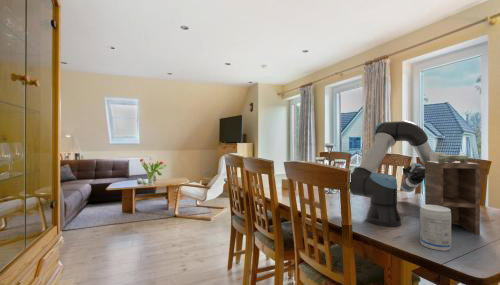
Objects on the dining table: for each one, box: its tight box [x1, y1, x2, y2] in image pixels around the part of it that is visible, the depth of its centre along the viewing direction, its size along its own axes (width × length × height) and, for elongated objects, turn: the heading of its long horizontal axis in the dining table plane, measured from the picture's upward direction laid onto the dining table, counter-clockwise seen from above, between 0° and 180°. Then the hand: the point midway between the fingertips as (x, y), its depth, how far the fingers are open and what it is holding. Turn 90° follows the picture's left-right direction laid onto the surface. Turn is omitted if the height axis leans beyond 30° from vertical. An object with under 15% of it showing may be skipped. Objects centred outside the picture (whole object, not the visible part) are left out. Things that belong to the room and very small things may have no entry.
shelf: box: [424, 154, 481, 235], centre depth 114 cm, size 15×14×33 cm
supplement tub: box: [419, 204, 452, 252], centre depth 94 cm, size 10×10×15 cm
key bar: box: [430, 152, 456, 162], centre depth 121 cm, size 4×18×4 cm, turn 166°
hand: (428, 165), depth 136 cm, fingers open, 13 cm apart
